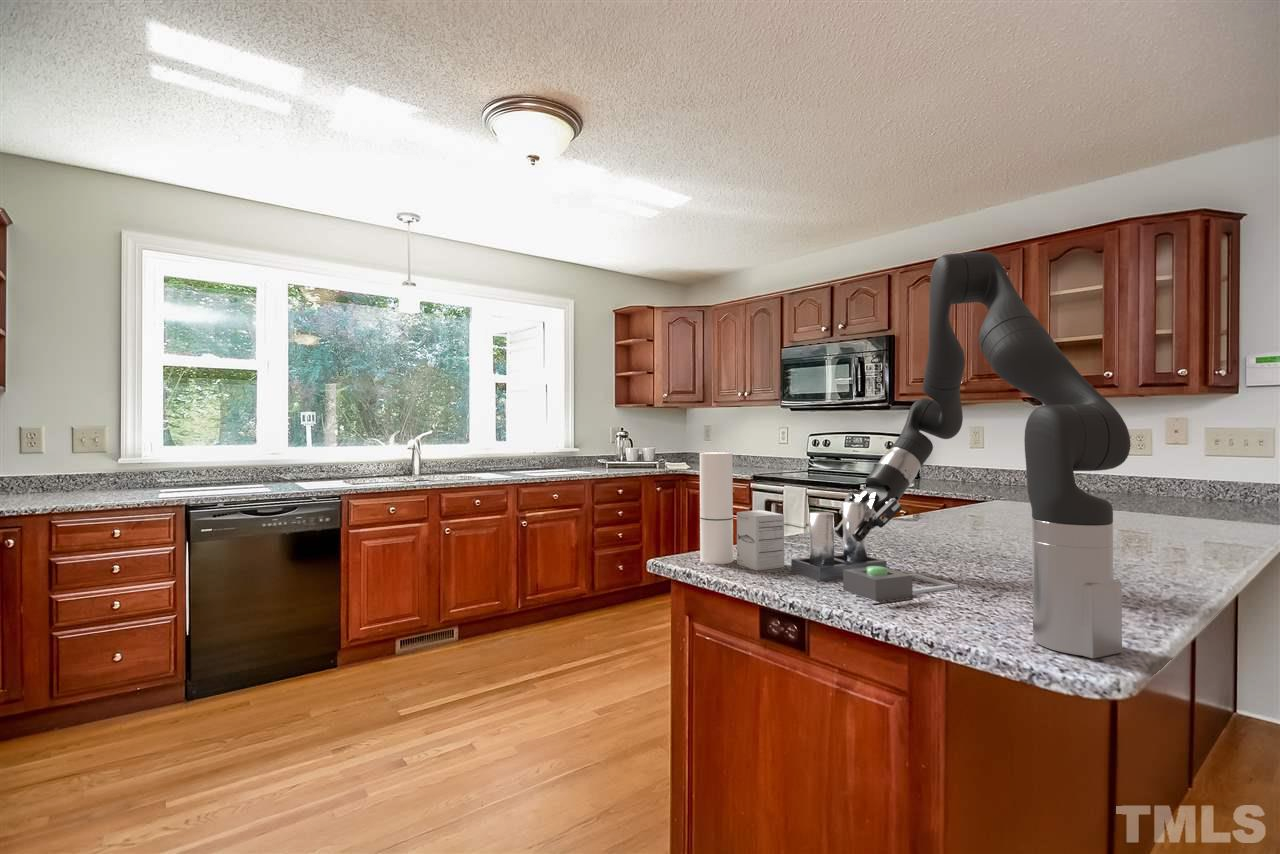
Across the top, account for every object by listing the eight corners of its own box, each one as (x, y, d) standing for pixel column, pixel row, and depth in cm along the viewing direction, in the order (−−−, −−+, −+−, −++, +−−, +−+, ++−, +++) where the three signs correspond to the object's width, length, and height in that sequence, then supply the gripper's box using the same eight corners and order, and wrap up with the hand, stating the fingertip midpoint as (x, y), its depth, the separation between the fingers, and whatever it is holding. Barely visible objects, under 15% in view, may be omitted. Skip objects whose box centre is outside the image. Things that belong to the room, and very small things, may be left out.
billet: (872, 563, 125) (871, 503, 125) (853, 565, 123) (853, 504, 123) (856, 559, 129) (855, 500, 129) (838, 561, 127) (837, 502, 127)
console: (912, 604, 107) (912, 575, 107) (875, 609, 104) (875, 579, 104) (878, 593, 114) (878, 566, 114) (843, 598, 111) (843, 569, 111)
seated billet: (839, 575, 122) (838, 514, 122) (819, 578, 120) (819, 515, 120) (824, 570, 126) (823, 511, 126) (805, 573, 124) (804, 512, 124)
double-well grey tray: (886, 581, 123) (886, 561, 123) (820, 589, 117) (819, 568, 117) (855, 571, 132) (855, 552, 132) (791, 578, 126) (791, 559, 126)
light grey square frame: (957, 596, 112) (957, 585, 112) (914, 602, 108) (914, 590, 108) (914, 583, 121) (914, 573, 121) (873, 588, 118) (873, 578, 118)
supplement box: (735, 570, 134) (735, 511, 134) (764, 567, 137) (763, 509, 137) (756, 578, 127) (755, 515, 127) (785, 574, 130) (785, 513, 130)
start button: (891, 586, 108) (891, 569, 108) (876, 588, 107) (876, 570, 107) (877, 582, 111) (877, 565, 111) (862, 584, 110) (862, 567, 110)
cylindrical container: (732, 563, 140) (731, 452, 140) (734, 571, 133) (733, 453, 133) (700, 563, 141) (699, 452, 141) (700, 570, 134) (699, 453, 134)
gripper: (858, 460, 136) (813, 519, 131) (909, 463, 122) (861, 529, 118) (878, 484, 138) (834, 543, 133) (930, 489, 124) (883, 555, 120)
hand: (847, 536), depth 125 cm, fingers closed on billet, 4 cm apart
